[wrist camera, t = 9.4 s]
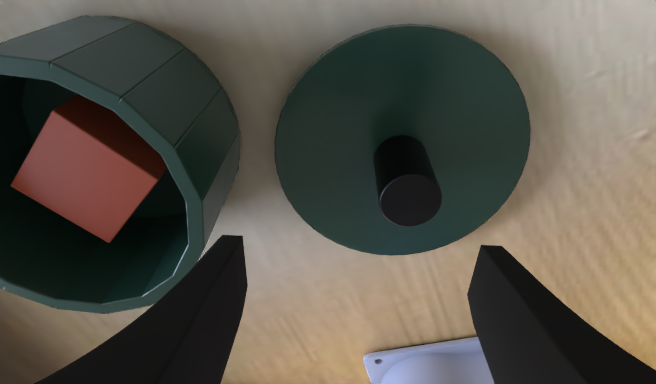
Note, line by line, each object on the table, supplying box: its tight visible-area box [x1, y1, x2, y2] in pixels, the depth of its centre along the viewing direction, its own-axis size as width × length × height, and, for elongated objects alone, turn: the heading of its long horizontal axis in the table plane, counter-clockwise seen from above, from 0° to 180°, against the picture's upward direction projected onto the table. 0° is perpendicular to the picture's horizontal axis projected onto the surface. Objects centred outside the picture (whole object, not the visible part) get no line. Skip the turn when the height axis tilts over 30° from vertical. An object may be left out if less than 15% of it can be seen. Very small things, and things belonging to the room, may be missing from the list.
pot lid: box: [275, 24, 530, 255], centre depth 18 cm, size 11×11×5 cm
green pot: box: [0, 15, 241, 314], centre depth 17 cm, size 10×10×6 cm
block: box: [11, 94, 168, 243], centre depth 18 cm, size 4×4×4 cm
